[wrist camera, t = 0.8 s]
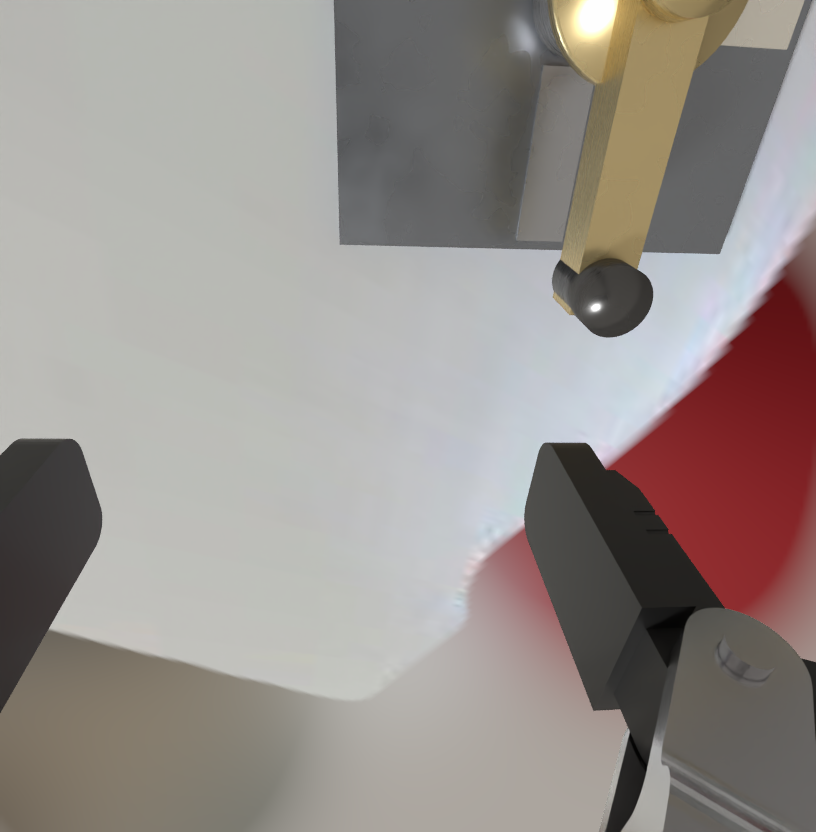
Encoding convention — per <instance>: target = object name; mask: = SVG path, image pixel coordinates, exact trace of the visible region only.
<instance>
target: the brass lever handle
mask: <svg viewBox="0 0 816 832" xmlns="http://www.w3.org/2000/svg"><path fill="white" fill-rule="evenodd" d="M747 2H748V0H547V3H548V13H549V19H550V23H551V28H552V32H553V34H554V37H555V40H556V43H557V45H558V47H559V49H560V51H561V53H562V55H563V57H564V58H565V60H566V61H567V62H568V64H569V65H570V67H571V68H572V69H573V70H574V71H575V72H576V73H577V74H578V75H579V76H580V77H582V78H583V79H584V80H586V81H587V82H589V83H591V84H593V85H594V86H595V91H594V96H593V101H592V105H591V110H590V115H589V120H588V125H587V130H586V135H585V140H584V145H583V150H582V155H581V160H580V165H579V170H578V175H577V180H576V185H575V190H574V195H573V200H572V204H571V209H570V214H569V219H568V224H567V229H566V234H565V239H564V244H563V249H562V254H561V259H560V261H559V262H558V264H557V265H556V267H555V270H554V273H553V278H552V286H553V290H554V294H553V298H554V299H555V300H556V301H557V302H558V303H559V304H560V305H561V306H562V307H563V309H564V310H565V311H566V312H567V313H568V314H569V315H575V316H576V317H577V318H578V319H579V320H580V321H581V322H582V323H583V324H584V325H585V326H586V327H587V328H588V329H589V330H590V331H591V332H592V333H594V334H596V335H598V336H601V337H617V336H620V335H623V334H626V333H628V332H629V331H631V330H633V329H634V328H635V327H637V326H638V325H639V324H640V323H641V322H642V321H643V319H644V318H645V317H646V315H647V314H648V312H649V310H650V307H651V305H652V301H653V288H652V285H651V282H650V280H649V279H648V278H647V276H646V275H645V274H643V273H642V272H640V271H639V270H637V268H638V265H639V261H640V258H641V254H642V251H643V247H644V244H645V240H646V237H647V233H648V229H649V226H650V222H651V219H652V215H653V212H654V208H655V205H656V201H657V198H658V194H659V191H660V187H661V184H662V180H663V177H664V173H665V170H666V166H667V163H668V159H669V155H670V152H671V148H672V145H673V141H674V138H675V134H676V131H677V127H678V124H679V120H680V117H681V113H682V110H683V106H684V103H685V99H686V96H687V92H688V89H689V85H690V81H691V78H692V74H693V71H694V70H695V69H696V68H698V67H699V66H700V65H701V64H703V63H704V62H705V61H706V60H707V59H708V58H709V57H710V56H711V55H712V54H713V53H714V52H715V51H716V50H717V49H718V47H719V46H720V45H721V44H722V43H723V41H724V40H725V39H726V38H727V36H728V35H729V33H730V32H731V30H732V29H733V27H734V26H735V25H736V23H737V21H738V19H739V18H740V16H741V14H742V12H743V11H744V9H745V6H746V4H747Z"/></svg>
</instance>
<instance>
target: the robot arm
mask: <svg viewBox="0 0 816 832" xmlns="http://www.w3.org/2000/svg"><path fill="white" fill-rule="evenodd" d="M524 521H525V531H526V535H527V539H528V542H529V545H530V547H531V550H532V552H533V555H534V557H535V560H536V562H537V565H538V568H539V570H540V573H541V576H542V578H543V581H544V583H545V586H546V588H547V591H548V594H549V596H550V599H551V602H552V604H553V606H554V609H555V612H556V614H557V617H558V620H559V622H560V625H561V628H562V630H563V633H564V635H565V638H566V641H567V643H568V646H569V648H570V651H571V653H572V656H573V659H574V661H575V664H576V666H577V669H578V671H579V674H580V677H581V679H582V682H583V685H584V687H585V690H586V692H587V695H588V698H589V700H590V703H591V705H592V708H593V710H594V711H595V710H613V709H620V710H621V712H622V714H623V716H624V719H625V721H626V723H627V726H628V728H627V730H626V732H625V734H624V737H623V739H622V744H621V747H620V751H619V755H618V759H617V763H616V767H615V771H614V775H613V779H612V782H611V787H610V790H609V794H608V798H607V802H606V806H605V810H604V814H603V818H602V822H601V826H600V829H599V832H816V662H813V661H809V660H805V659H801V658H800V656H799V655H798V654H797V652H796V651H795V650H794V649H793V648H792V647H791V646H790V645H789V644H788V643H787V641H785V640H784V639H783V638H782V637H781V636H780V635H779V634H777V633H776V632H775V631H773V630H772V629H771V628H769V627H768V626H766V625H764V624H763V623H761V622H760V621H758V620H756V619H754V618H751V617H750V616H748V615H745V614H742V613H740V612H737V611H733V610H729V609H725V608H724V606H723V605H722V603H721V602H720V601H719V599H718V598H717V597H716V595H715V594H714V592H713V591H712V589H711V588H710V587H709V585H708V584H707V582H706V581H705V580H704V579H703V577H702V576H701V574H700V573H699V571H698V570H697V569H696V567H695V566H694V564H693V563H692V562H691V560H690V559H689V557H688V556H687V555H686V553H685V552H684V551H683V549H682V548H681V546H680V545H679V544H678V542H677V541H676V539H675V538H674V536H673V535H672V534H669V533H668V528H667V527H666V525H665V524H664V523H663V521H662V520H661V518H660V517H659V516H658V515H655V510H654V509H653V507H652V506H651V505H650V503H649V502H648V500H647V499H646V497H645V496H644V495H643V493H642V492H641V491H640V489H639V488H638V487H636V486H635V485H634V484H632V483H631V482H630V481H628V480H627V479H626V478H624V477H623V476H622V475H621V474H619V473H618V472H617V471H615V470H606V469H605V468H604V466H603V465H602V463H601V462H600V460H599V459H598V457H597V456H596V454H595V453H594V451H593V450H592V448H591V447H590V446H589V445H588V444H586V443H544V444H543V445H542V446H541V448H540V450H539V453H538V457H537V461H536V465H535V469H534V473H533V477H532V481H531V485H530V489H529V493H528V497H527V501H526V506H525V514H524ZM101 528H102V511H101V507H100V504H99V501H98V498H97V495H96V492H95V489H94V486H93V483H92V480H91V477H90V474H89V471H88V467H87V464H86V461H85V458H84V455H83V452H82V450H81V447H80V446H79V444H78V443H77V442H76V441H75V440H73V439H18V440H16V441H14V442H13V443H12V444H11V445H10V446H9V447H8V448H7V449H6V450H5V451H4V452H3V453H2V454H1V455H0V713H1V711H2V709H3V707H4V705H5V704H6V702H7V700H8V699H9V697H10V695H11V693H12V692H13V690H14V688H15V686H16V685H17V683H18V681H19V679H20V678H21V676H22V674H23V672H24V671H25V669H26V667H27V665H28V664H29V662H30V660H31V658H32V657H33V655H34V653H35V651H36V650H37V648H38V646H39V645H40V643H41V641H42V639H43V637H44V636H45V634H46V632H47V631H48V629H49V627H50V625H51V624H52V622H53V620H54V618H55V617H56V615H57V613H58V611H59V610H60V608H61V606H62V604H63V603H64V601H65V599H66V597H67V596H68V594H69V592H70V590H71V589H72V587H73V585H74V583H75V582H76V580H77V578H78V576H79V575H80V573H81V571H82V569H83V568H84V566H85V564H86V562H87V561H88V559H89V557H90V555H91V554H92V552H93V550H94V548H95V547H96V545H97V543H98V540H99V537H100V533H101Z"/></svg>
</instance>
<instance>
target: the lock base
mask: <svg viewBox="0 0 816 832" xmlns="http://www.w3.org/2000/svg"><path fill="white" fill-rule="evenodd" d="M811 1H812V0H748V2H747V4H746V6H745V9H744V11H743V12H742V14H741V16H740V18H739V19H738V21H737V23H736V25H735V26H734V27H733V29H732V30H731V32H730V33H729V35H728V36H727V38H726V39H725V40H724V41H723V43H722V44H721V45H720V46H719V47H718V49H717V50H716V51H715V52H714V53H713V54H712V55H711V56H710V57H709V58H708V59H707V60H706V61H705V62H704V63H703V64H701V65H700V66H699V67H698V68H696V69H695V70H694V71H693V74H692V78H691V81H690V85H689V89H688V92H687V96H686V99H685V103H684V106H683V110H682V113H681V117H680V120H679V124H678V127H677V131H676V134H675V138H674V141H673V145H672V148H671V152H670V155H669V159H668V163H667V166H666V170H665V173H664V177H663V180H662V184H661V187H660V191H659V194H658V198H657V201H656V205H655V208H654V212H653V215H652V219H651V222H650V226H649V229H648V233H647V237H646V240H645V244H644V247H643V251H642V252H661V253H701V254H720V252H721V249H722V246H723V243H724V241H725V238H726V235H727V232H728V230H729V227H730V224H731V221H732V219H733V216H734V213H735V210H736V208H737V205H738V202H739V199H740V197H741V194H742V191H743V188H744V186H745V183H746V180H747V177H748V175H749V172H750V169H751V166H752V164H753V161H754V158H755V155H756V153H757V150H758V147H759V144H760V142H761V139H762V136H763V133H764V131H765V128H766V125H767V122H768V120H769V117H770V114H771V111H772V109H773V106H774V103H775V100H776V98H777V95H778V92H779V89H780V87H781V84H782V81H783V78H784V76H785V73H786V70H787V67H788V65H789V62H790V59H791V56H792V54H793V51H794V48H795V45H796V43H797V40H798V37H799V34H800V32H801V29H802V26H803V23H804V21H805V18H806V15H807V12H808V10H809V7H810V4H811ZM334 19H335V61H336V103H337V145H338V187H339V228H340V245H380V246H420V247H461V248H501V249H541V250H562V249H563V244H564V239H565V234H566V229H567V224H568V219H569V214H570V209H571V204H572V200H573V195H574V190H575V185H576V180H577V175H578V170H579V165H580V160H581V155H582V150H583V145H584V140H585V135H586V130H587V125H588V120H589V115H590V110H591V105H592V101H593V96H594V91H595V86H594V85H593V84H591V83H589V82H587V81H586V80H584V79H583V78H582V77H580V76H579V75H578V74H577V73H576V72H575V71H574V70H573V69H572V68H571V67H570V65H569V64H568V62H567V61H566V60H565V58H564V57H563V55H562V53H561V51H560V49H559V47H558V45H557V43H556V40H555V37H554V34H553V32H552V28H551V23H550V19H549V13H548V3H547V0H334Z"/></svg>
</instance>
